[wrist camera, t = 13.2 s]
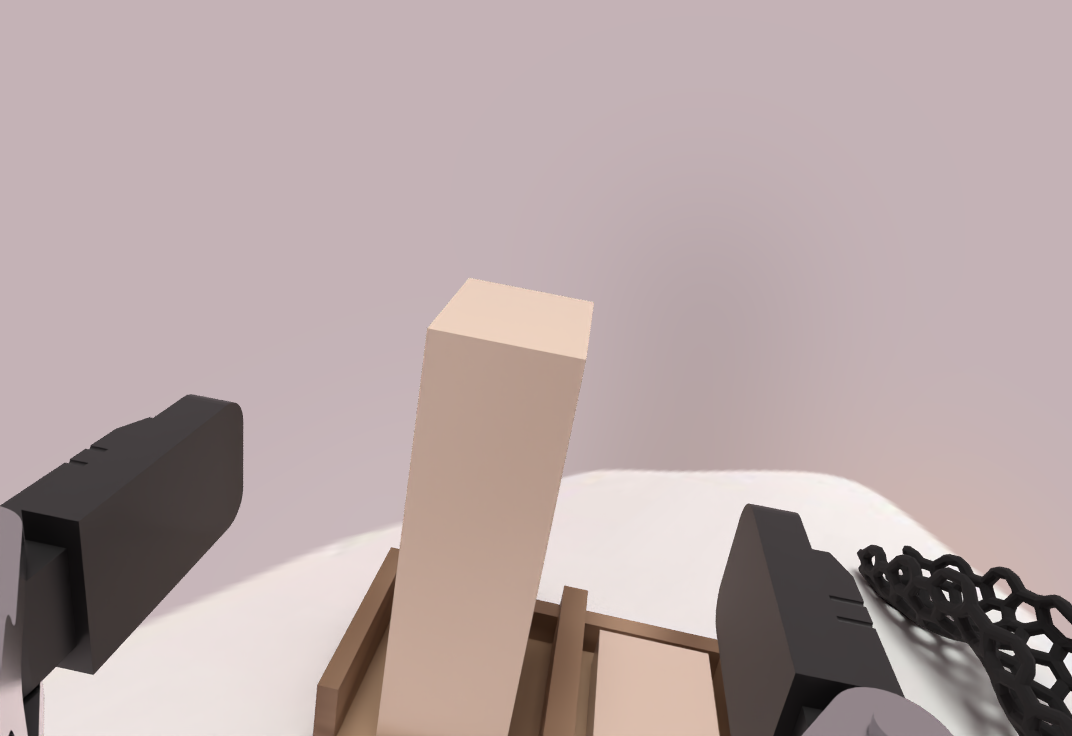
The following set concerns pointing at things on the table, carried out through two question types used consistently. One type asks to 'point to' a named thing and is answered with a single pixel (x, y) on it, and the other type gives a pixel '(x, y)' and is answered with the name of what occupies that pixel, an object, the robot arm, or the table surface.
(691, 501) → the table surface
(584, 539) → the table surface
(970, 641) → the decorative element
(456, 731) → the beige wooden block
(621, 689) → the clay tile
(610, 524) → the table surface
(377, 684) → the wooden open-ended tray
